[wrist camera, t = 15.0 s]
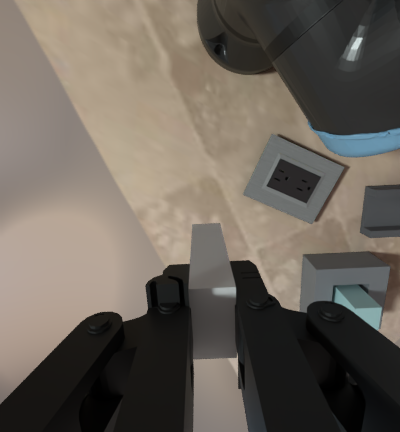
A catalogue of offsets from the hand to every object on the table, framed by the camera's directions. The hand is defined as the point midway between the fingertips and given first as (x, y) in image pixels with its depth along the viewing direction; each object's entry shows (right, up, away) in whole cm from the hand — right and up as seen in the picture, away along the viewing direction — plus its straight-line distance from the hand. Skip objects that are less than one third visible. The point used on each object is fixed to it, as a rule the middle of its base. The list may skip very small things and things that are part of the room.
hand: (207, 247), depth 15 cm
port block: (+25, -11, +37) cm, 46 cm away
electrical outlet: (+15, +8, +32) cm, 36 cm away
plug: (+25, -11, +36) cm, 45 cm away
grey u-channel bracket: (+32, +3, +33) cm, 46 cm away
